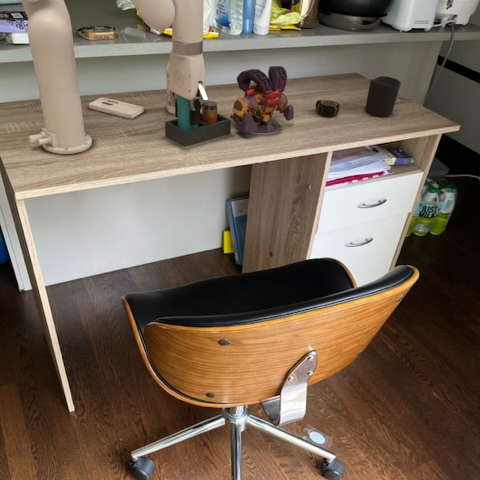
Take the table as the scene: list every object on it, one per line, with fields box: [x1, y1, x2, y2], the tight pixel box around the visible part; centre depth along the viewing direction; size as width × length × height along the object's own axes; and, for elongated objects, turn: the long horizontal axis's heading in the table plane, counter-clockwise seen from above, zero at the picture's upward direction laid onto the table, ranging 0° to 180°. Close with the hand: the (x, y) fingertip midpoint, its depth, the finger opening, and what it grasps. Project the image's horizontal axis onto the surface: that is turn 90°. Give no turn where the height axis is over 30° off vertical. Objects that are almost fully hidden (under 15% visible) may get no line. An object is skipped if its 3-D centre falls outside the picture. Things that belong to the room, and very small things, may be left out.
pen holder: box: [364, 75, 402, 118], centre depth 169 cm, size 9×9×10 cm
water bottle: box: [177, 94, 198, 131], centre depth 140 cm, size 5×5×15 cm
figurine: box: [229, 65, 295, 134], centre depth 150 cm, size 20×14×17 cm
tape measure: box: [315, 99, 341, 117], centre depth 167 cm, size 7×7×4 cm
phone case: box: [88, 96, 145, 119], centre depth 158 cm, size 7×1×15 cm
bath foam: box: [165, 59, 176, 115], centre depth 154 cm, size 7×7×20 cm
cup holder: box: [164, 112, 232, 148], centre depth 146 cm, size 16×9×5 cm, turn 133°
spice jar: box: [201, 100, 219, 125], centre depth 147 cm, size 4×4×8 cm
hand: (187, 119), depth 142 cm, fingers closed on water bottle, 5 cm apart
